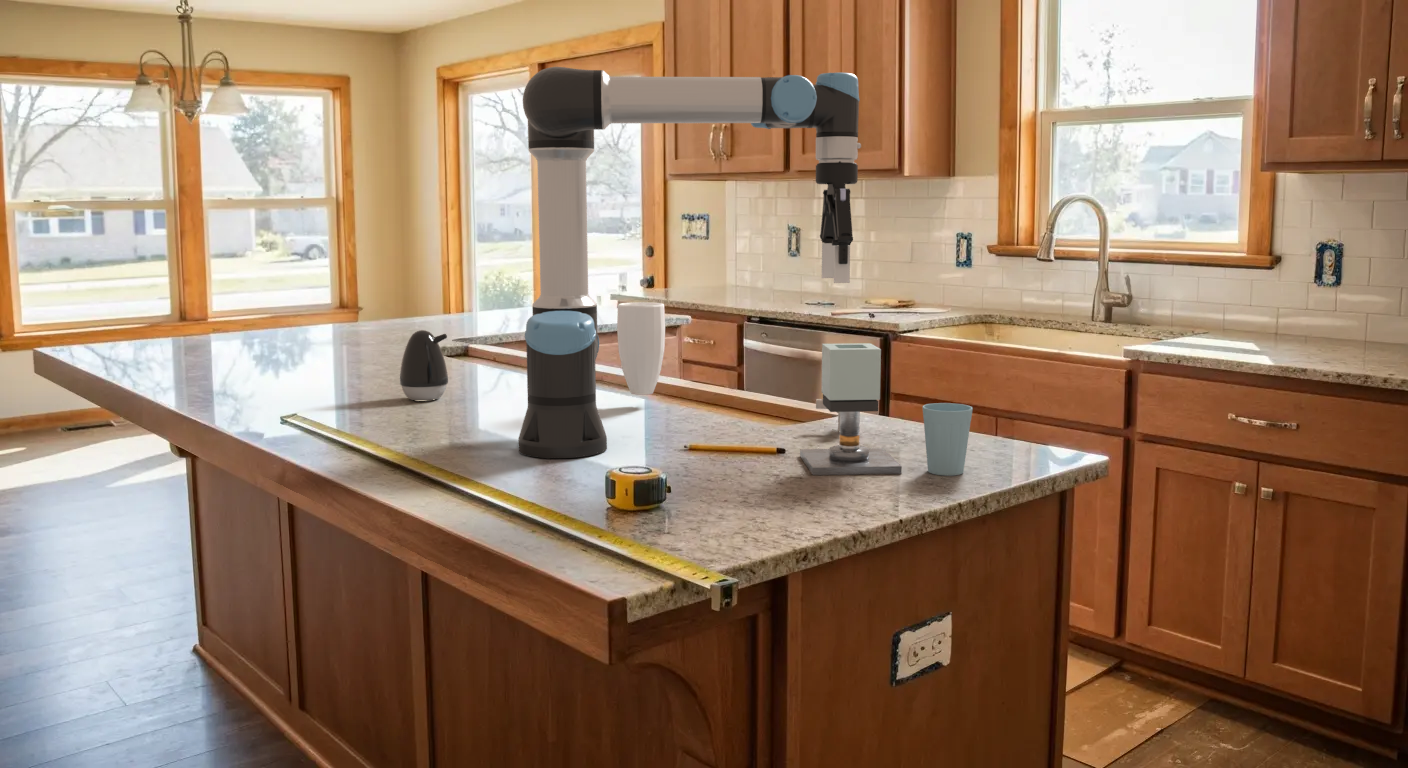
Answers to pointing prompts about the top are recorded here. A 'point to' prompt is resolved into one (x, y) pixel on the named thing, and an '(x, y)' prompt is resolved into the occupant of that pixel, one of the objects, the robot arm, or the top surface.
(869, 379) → the sleeve
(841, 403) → the dark grey square slab
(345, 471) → the top surface
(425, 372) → the pump dispenser
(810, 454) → the pipe stand
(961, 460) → the cup
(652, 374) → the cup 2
